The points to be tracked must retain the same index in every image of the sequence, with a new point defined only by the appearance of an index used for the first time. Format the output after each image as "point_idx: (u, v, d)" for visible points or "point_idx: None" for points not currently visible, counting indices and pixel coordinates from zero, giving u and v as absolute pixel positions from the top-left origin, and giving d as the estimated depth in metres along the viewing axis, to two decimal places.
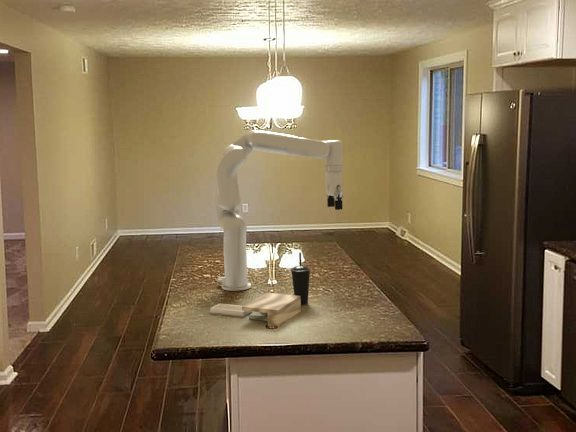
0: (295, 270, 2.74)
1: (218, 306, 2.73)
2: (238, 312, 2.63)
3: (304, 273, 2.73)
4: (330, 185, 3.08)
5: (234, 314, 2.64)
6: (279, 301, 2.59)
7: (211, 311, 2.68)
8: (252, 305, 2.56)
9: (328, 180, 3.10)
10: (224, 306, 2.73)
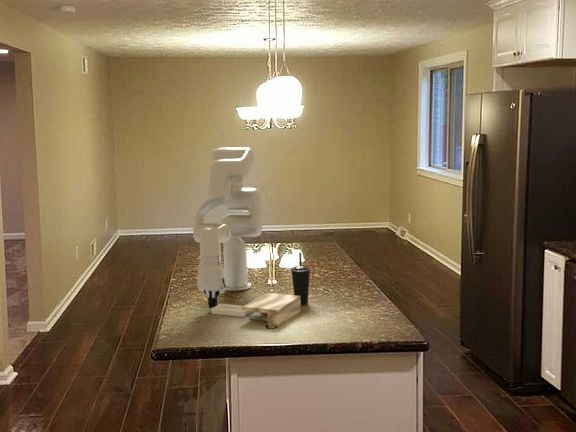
0: (295, 270, 2.74)
1: (219, 306, 2.72)
2: (239, 312, 2.63)
3: (304, 273, 2.73)
4: (214, 279, 2.66)
5: (235, 314, 2.64)
6: (279, 301, 2.59)
7: (212, 311, 2.68)
8: (252, 305, 2.56)
9: (208, 274, 2.67)
10: (225, 306, 2.73)
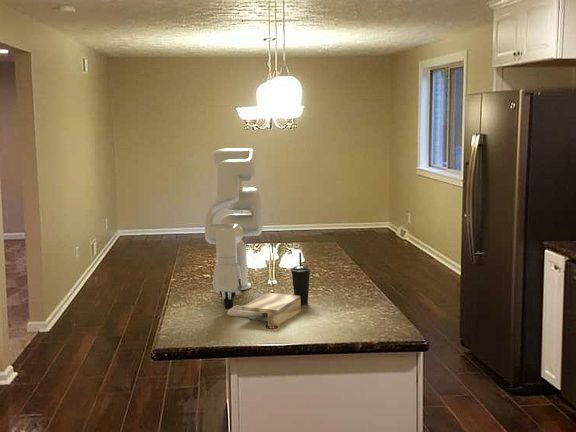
0: (295, 270, 2.74)
1: (235, 308, 2.70)
2: (256, 314, 2.60)
3: (304, 273, 2.73)
4: (230, 280, 2.63)
5: None
6: (279, 301, 2.59)
7: (228, 313, 2.65)
8: (252, 305, 2.56)
9: (224, 275, 2.64)
10: (241, 308, 2.70)
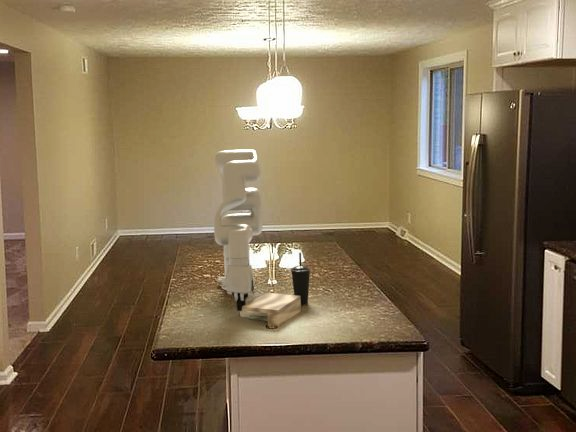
0: (295, 270, 2.74)
1: None
2: None
3: (304, 273, 2.73)
4: (243, 281, 2.61)
5: None
6: (279, 301, 2.59)
7: (241, 314, 2.63)
8: (252, 305, 2.56)
9: (237, 276, 2.62)
10: None
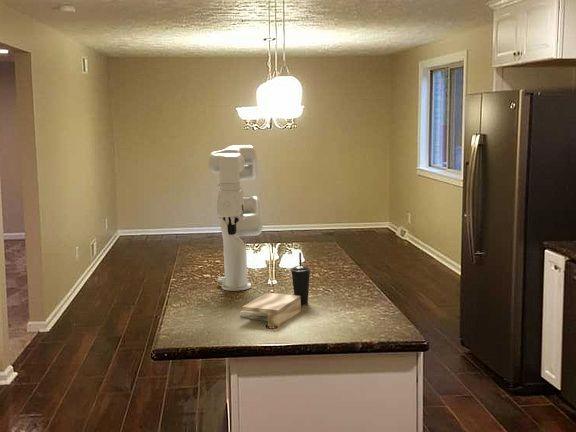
0: (295, 270, 2.74)
1: None
2: None
3: (304, 273, 2.73)
4: (233, 205, 2.74)
5: None
6: (279, 301, 2.59)
7: (241, 314, 2.63)
8: (252, 305, 2.56)
9: (228, 200, 2.75)
10: None
